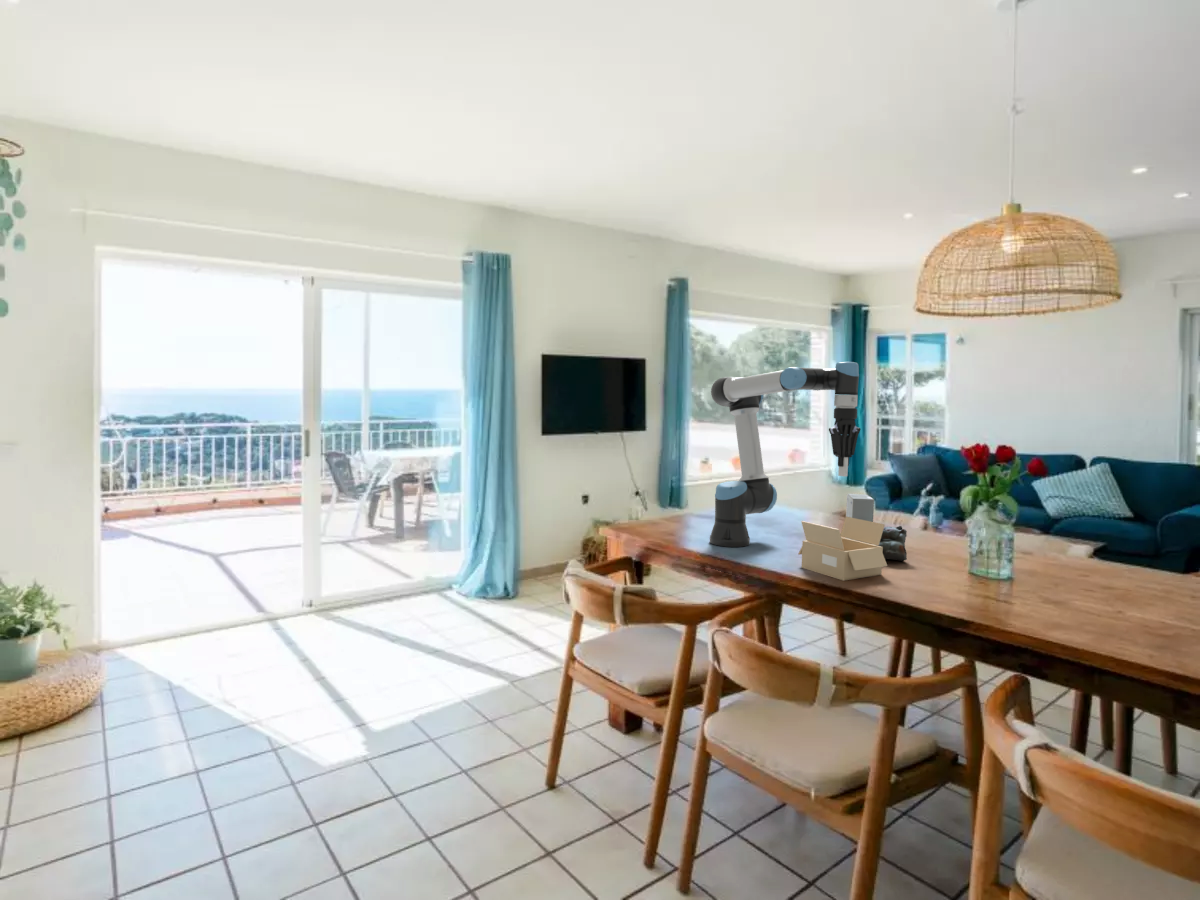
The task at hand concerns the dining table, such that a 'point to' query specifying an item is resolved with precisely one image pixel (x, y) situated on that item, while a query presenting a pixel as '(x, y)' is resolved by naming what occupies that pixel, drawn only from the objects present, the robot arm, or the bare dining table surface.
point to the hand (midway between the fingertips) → (842, 475)
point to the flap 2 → (862, 530)
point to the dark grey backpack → (893, 543)
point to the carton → (843, 559)
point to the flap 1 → (822, 535)
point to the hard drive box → (860, 507)
